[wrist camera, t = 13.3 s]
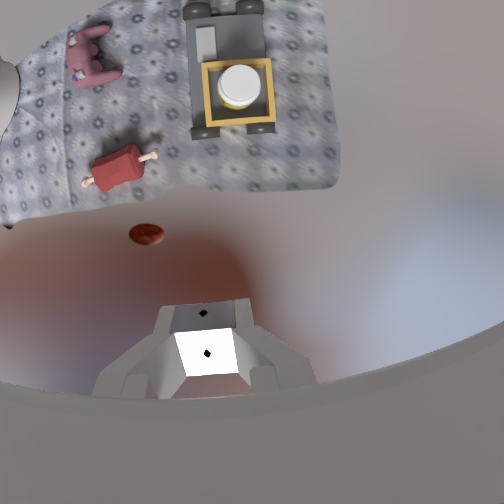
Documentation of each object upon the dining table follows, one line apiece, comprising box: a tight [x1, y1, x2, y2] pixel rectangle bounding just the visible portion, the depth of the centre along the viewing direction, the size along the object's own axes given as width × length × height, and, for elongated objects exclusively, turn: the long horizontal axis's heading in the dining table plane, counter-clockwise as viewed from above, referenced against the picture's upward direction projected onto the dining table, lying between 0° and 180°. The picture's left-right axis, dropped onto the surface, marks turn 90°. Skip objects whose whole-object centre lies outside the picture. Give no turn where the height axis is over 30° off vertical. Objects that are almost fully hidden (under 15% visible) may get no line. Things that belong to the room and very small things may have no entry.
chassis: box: [183, 0, 276, 140], centre depth 31 cm, size 11×19×4 cm, turn 4°
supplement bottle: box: [217, 65, 261, 110], centre depth 29 cm, size 5×5×8 cm
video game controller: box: [66, 25, 122, 89], centre depth 27 cm, size 10×5×7 cm, turn 16°
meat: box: [82, 144, 160, 192], centre depth 34 cm, size 12×5×5 cm, turn 105°
